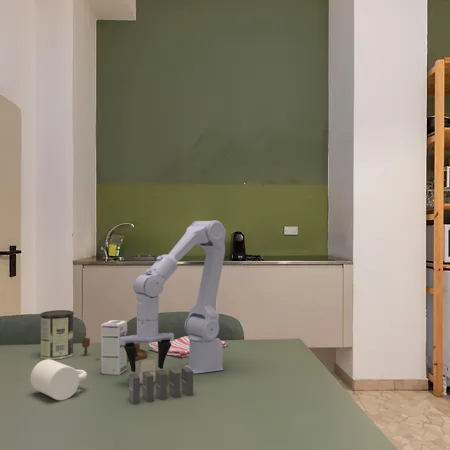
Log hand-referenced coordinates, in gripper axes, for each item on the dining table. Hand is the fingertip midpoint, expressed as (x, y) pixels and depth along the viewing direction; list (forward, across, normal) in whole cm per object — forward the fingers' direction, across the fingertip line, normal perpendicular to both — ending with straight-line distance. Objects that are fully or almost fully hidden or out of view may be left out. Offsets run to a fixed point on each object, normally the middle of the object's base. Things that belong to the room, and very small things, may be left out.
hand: (146, 369), depth 132 cm
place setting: (+4, 0, +32) cm, 32 cm away
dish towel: (+4, +24, +31) cm, 39 cm away
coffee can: (+4, -19, +39) cm, 43 cm away
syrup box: (+4, -6, +13) cm, 15 cm away
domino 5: (+3, +3, -13) cm, 14 cm away
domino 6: (+3, +7, -13) cm, 15 cm away
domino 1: (+3, -7, -13) cm, 15 cm away
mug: (+4, -22, 0) cm, 22 cm away
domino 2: (+3, 0, 0) cm, 3 cm away
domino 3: (+3, -4, -13) cm, 14 cm away
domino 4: (+3, 0, -13) cm, 13 cm away
